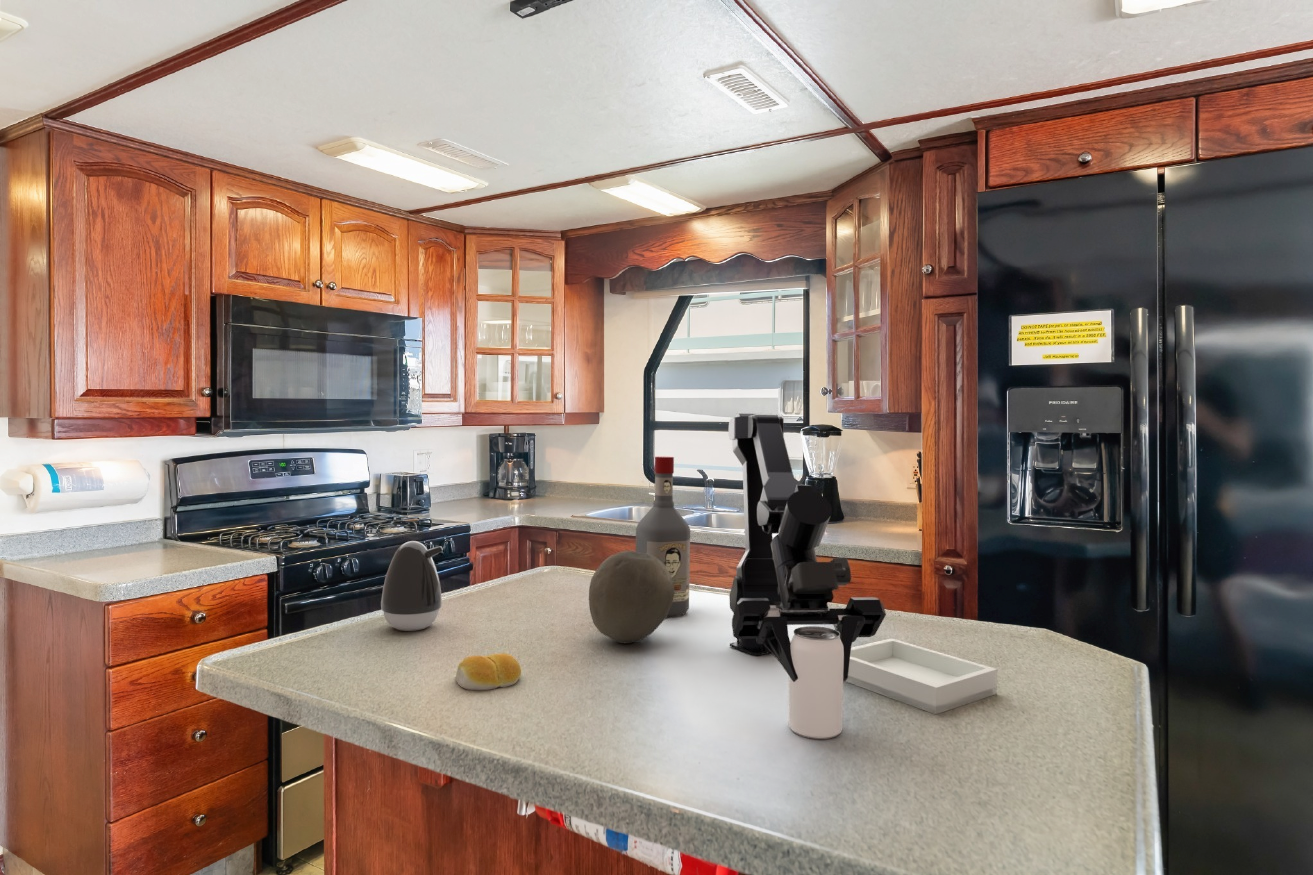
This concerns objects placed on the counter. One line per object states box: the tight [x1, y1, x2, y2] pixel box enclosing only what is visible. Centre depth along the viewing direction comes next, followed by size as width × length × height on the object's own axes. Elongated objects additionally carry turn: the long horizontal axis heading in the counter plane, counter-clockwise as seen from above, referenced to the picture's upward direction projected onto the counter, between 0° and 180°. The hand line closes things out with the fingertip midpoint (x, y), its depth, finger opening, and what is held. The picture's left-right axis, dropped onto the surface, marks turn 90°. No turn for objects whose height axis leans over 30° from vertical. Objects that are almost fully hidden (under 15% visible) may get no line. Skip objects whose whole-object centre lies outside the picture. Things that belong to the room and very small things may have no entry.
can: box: [788, 625, 844, 740], centre depth 97 cm, size 6×6×12 cm
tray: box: [845, 638, 998, 715], centre depth 115 cm, size 18×14×4 cm
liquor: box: [635, 456, 691, 618], centre depth 154 cm, size 9×9×30 cm
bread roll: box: [454, 653, 522, 691], centre depth 113 cm, size 8×9×4 cm
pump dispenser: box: [380, 540, 444, 632], centre depth 140 cm, size 10×10×15 cm
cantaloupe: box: [588, 550, 674, 644], centre depth 134 cm, size 14×14×15 cm
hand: (820, 679), depth 96 cm, fingers closed on can, 6 cm apart
